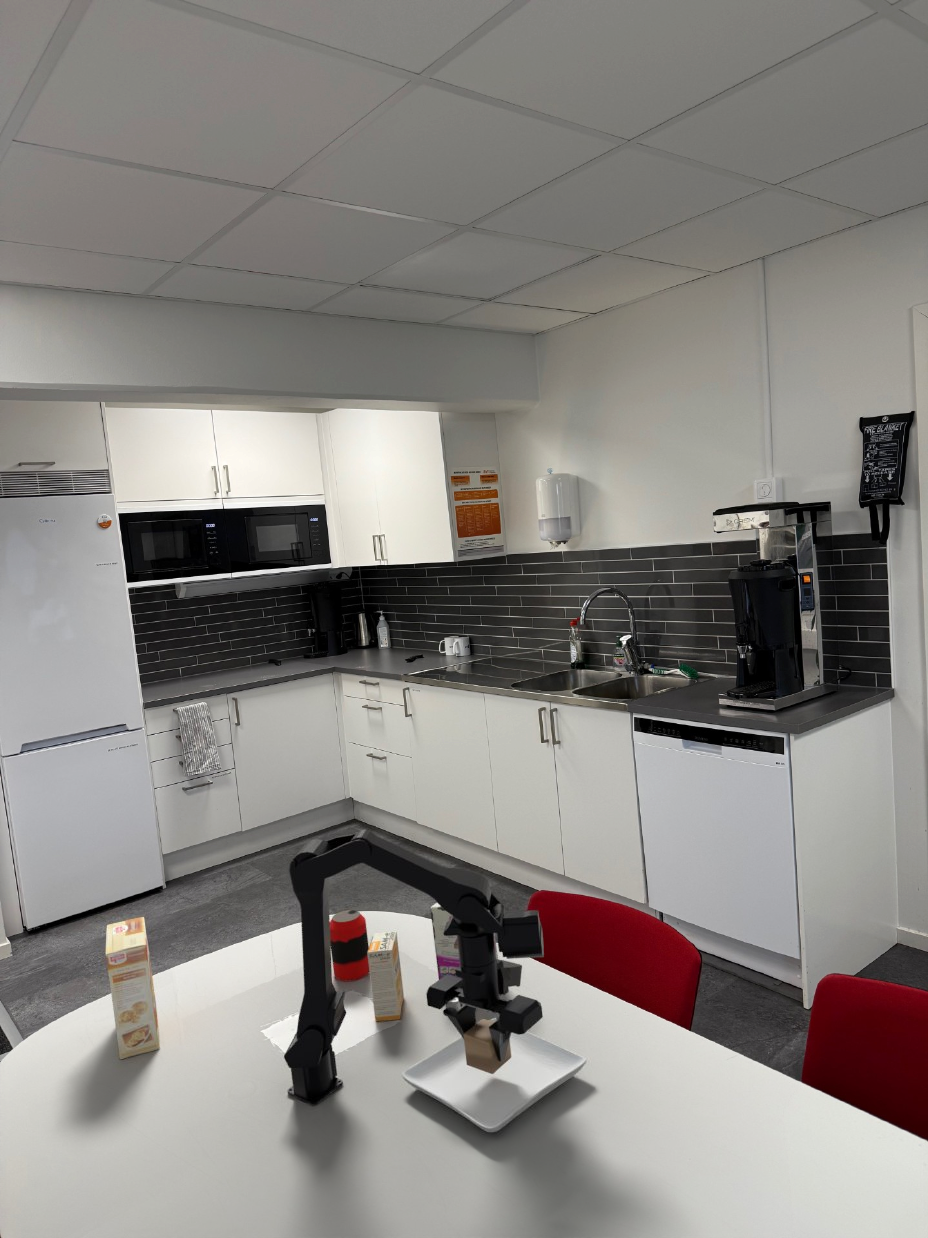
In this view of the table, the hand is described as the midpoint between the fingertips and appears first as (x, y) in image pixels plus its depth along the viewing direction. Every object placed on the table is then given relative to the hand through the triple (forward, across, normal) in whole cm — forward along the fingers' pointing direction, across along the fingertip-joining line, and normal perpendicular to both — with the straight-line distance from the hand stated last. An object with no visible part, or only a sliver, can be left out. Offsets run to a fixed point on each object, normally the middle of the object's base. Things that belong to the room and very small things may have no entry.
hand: (488, 1055), depth 134 cm
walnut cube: (+1, 0, 0) cm, 1 cm away
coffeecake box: (+5, +67, +20) cm, 70 cm away
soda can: (+5, +47, -16) cm, 50 cm away
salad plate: (+5, -1, 0) cm, 5 cm away
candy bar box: (+5, +22, -23) cm, 32 cm away
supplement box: (+5, +30, -9) cm, 32 cm away
